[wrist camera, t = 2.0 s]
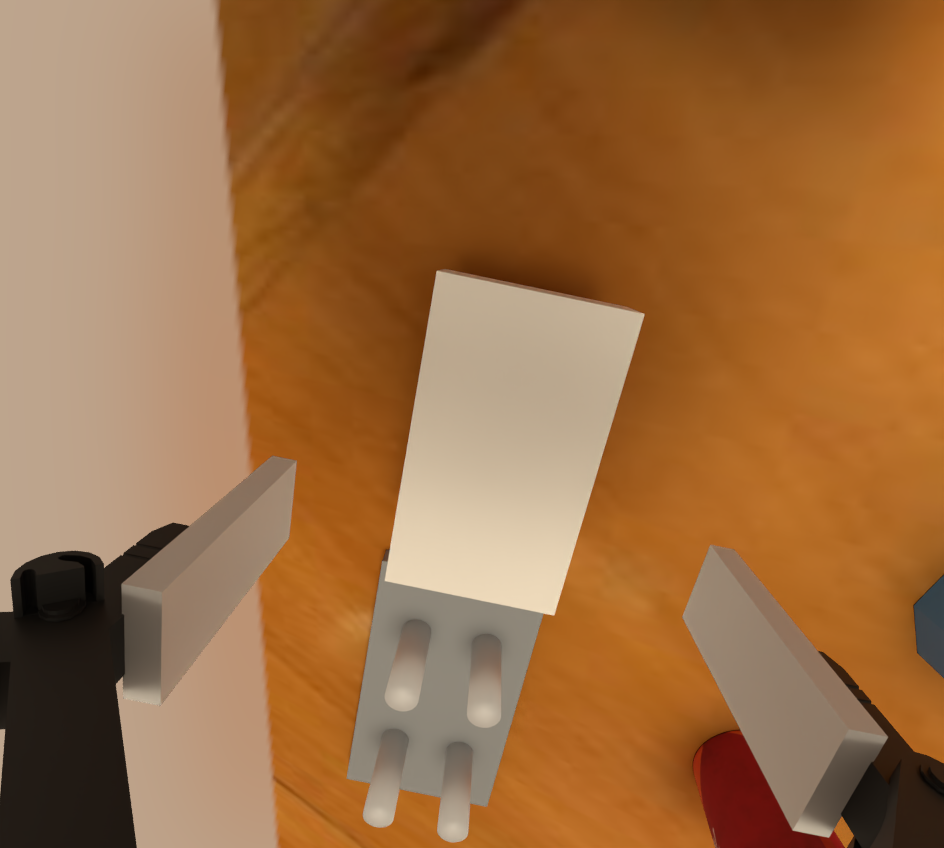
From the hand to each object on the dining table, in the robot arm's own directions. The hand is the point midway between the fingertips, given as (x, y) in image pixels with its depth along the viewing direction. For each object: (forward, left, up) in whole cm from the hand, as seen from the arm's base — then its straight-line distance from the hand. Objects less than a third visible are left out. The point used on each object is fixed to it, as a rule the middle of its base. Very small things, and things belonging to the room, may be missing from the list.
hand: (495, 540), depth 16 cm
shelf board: (0, 0, -9) cm, 9 cm away
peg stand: (+19, 0, -13) cm, 23 cm away
